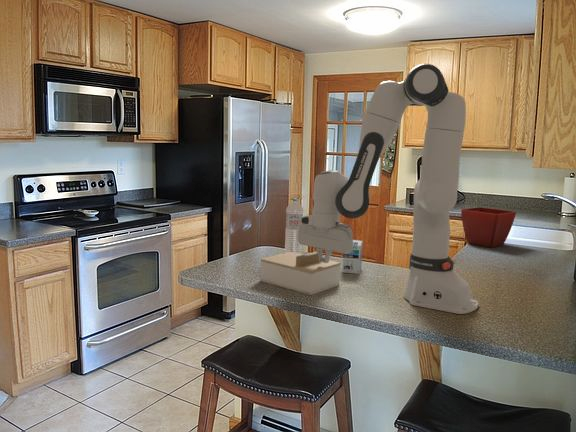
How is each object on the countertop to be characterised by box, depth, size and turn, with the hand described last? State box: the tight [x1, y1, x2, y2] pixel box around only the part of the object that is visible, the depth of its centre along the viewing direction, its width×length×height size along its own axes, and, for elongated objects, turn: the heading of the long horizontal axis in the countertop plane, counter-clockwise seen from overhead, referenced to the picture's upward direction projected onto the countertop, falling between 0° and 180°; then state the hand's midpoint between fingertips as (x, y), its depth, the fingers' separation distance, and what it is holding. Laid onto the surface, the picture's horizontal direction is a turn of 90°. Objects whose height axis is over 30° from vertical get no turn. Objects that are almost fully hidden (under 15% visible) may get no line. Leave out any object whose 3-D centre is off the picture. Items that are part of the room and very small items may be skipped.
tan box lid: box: [260, 251, 341, 274], centre depth 170 cm, size 22×16×4 cm
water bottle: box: [284, 197, 304, 254], centre depth 203 cm, size 7×7×25 cm
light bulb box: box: [341, 239, 364, 275], centre depth 190 cm, size 11×7×11 cm, turn 168°
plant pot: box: [460, 207, 517, 248], centre depth 245 cm, size 19×19×17 cm
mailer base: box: [259, 260, 341, 296], centre depth 171 cm, size 22×16×7 cm
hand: (323, 262), depth 164 cm, fingers closed
